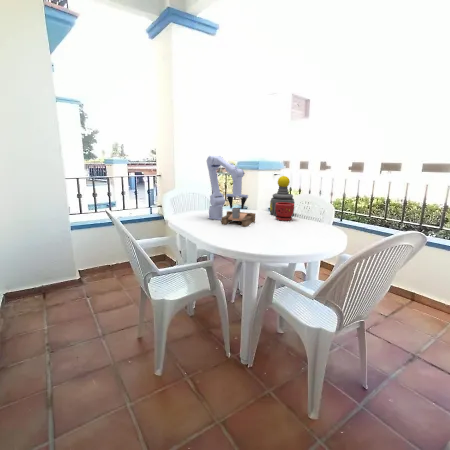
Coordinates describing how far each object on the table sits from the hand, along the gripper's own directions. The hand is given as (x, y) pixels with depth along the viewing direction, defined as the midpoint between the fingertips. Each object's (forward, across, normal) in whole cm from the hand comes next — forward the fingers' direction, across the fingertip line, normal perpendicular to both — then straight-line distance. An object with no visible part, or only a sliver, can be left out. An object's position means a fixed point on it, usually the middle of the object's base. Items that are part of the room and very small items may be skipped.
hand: (236, 208), depth 181 cm
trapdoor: (+7, 0, +2) cm, 7 cm away
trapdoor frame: (+10, 0, +2) cm, 11 cm away
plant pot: (+11, +27, +27) cm, 40 cm away
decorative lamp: (+11, +22, +45) cm, 51 cm away
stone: (+6, 0, 0) cm, 6 cm away
